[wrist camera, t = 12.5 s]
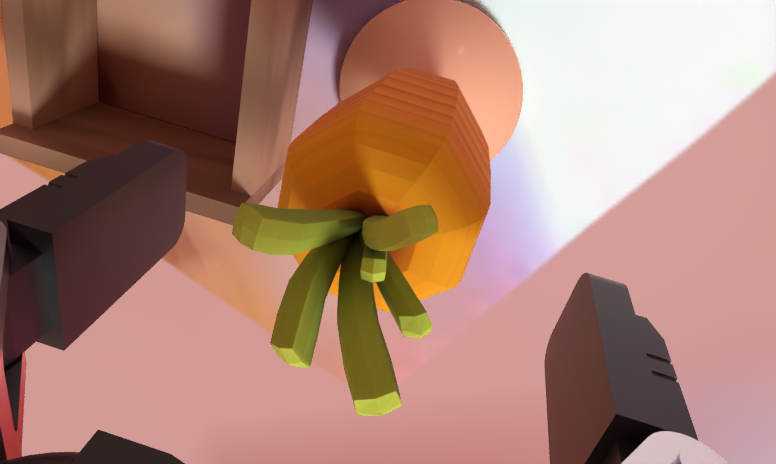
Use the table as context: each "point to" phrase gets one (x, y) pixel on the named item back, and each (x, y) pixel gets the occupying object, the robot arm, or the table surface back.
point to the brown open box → (125, 128)
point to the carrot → (374, 221)
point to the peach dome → (443, 59)
